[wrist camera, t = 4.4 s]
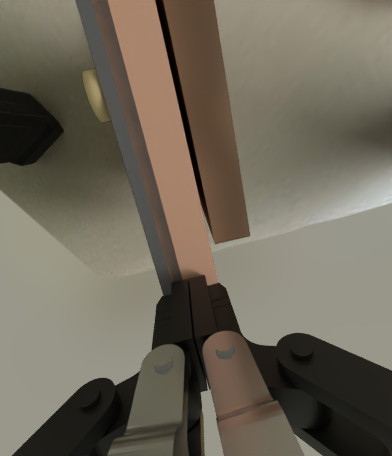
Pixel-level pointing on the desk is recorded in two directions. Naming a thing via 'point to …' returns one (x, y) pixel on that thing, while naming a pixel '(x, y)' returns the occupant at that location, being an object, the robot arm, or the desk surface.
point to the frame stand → (205, 112)
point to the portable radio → (24, 128)
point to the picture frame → (147, 132)
